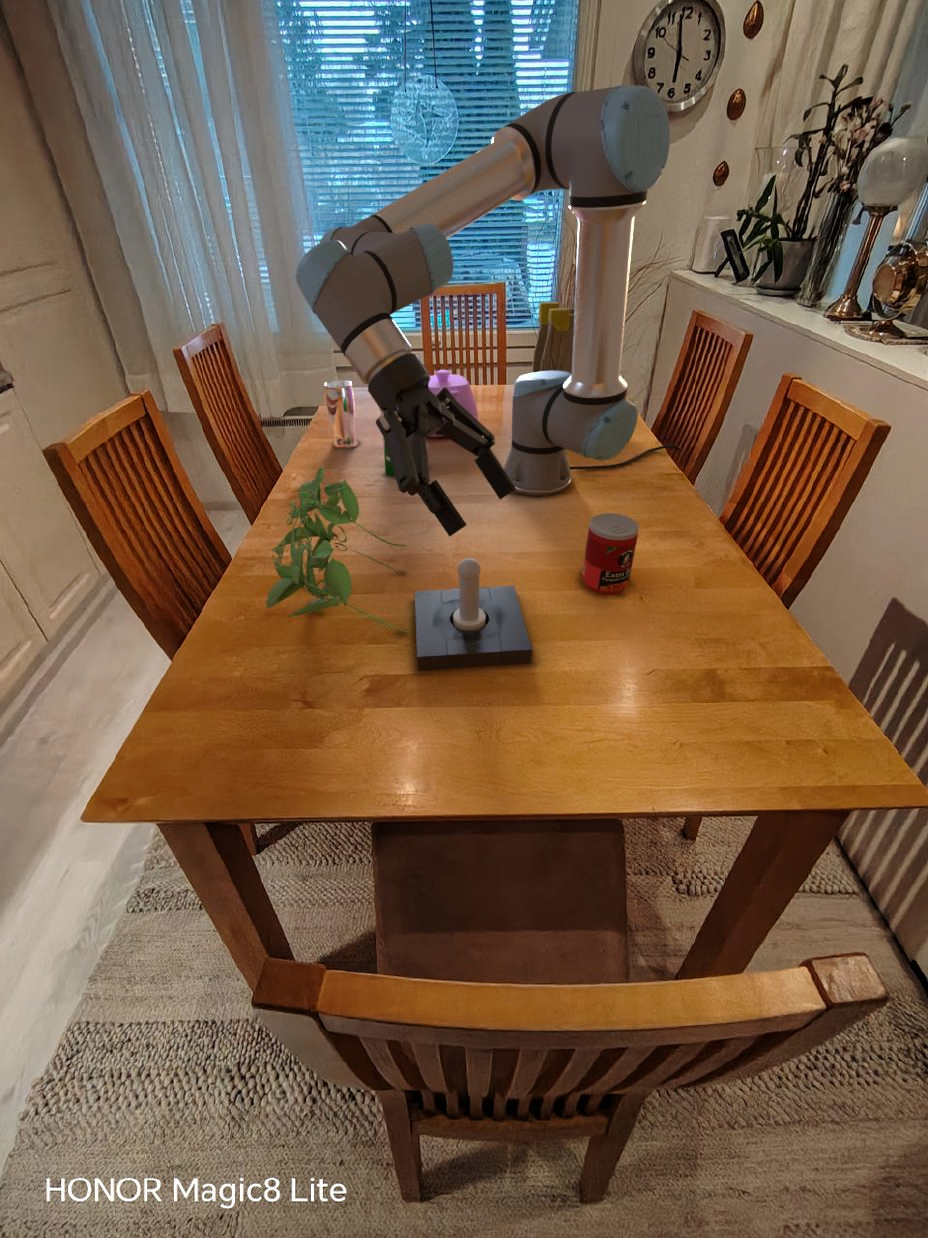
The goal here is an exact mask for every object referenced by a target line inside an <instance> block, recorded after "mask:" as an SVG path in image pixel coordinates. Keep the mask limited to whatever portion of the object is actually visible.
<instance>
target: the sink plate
mask: <svg viewBox="0 0 928 1238" xmlns="http://www.w3.org/2000/svg"><path fill="white" fill-rule="evenodd" d="M413 595H414V612H415V613H414V615H415V616H414V617H415V641H416V661H417V662H416V663H417V670H418V671H431V670H432V671H433V670H446V669H447V670H448V669H461V668H463V669H464V668H476V667H490V666H493V667H494V666H502V665H506V666H507V665H519V664H531V663H532V659H533V647H532V644H531V640H530V637H529V633H528V629H527V626H526V623H525V618H524V614H523V612H522V608H521V604H520V601H519V598H518V593H517V590H516V588H515V585H500V586H483V587H479V608H480V609H482V610H483V611H484V613H485V616H486V619H485V627H483V628H481V629H478V630H474V631H465V630H460V629H458V628H456V627H454V626H453V614H454V612H455V611H456V610H457V609H459V608H460V589H459V588H451V589H450V588H449V589H448V588H447V589H446V588H445V589H432V590H428V589H427V590H415V591H414V594H413Z"/></svg>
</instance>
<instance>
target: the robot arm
mask: <svg viewBox="0 0 928 1238" xmlns="http://www.w3.org/2000/svg"><path fill="white" fill-rule="evenodd" d="M670 145H671V127H670V121H669V116H668V111H667V108H666V106H665V105H664V104H663V101H662V98H661V97H660V95H659V94H658V92H656V91H655V90H654V89H652V88H650V87H649V86H646V85H627V84H623V83H622V84H620V85H617V86H612V87H611V86H609V87H604V88H603V87H602V88H597V89H590V90H582V91H581V90H580V91H571V92H565V93H562V94H559V95H556V96H554V97H551V98H550V99H549V98H548V99H547V100H546V101H544V102H542V103H540V104H539V105H536V106H535V107H534V108H532V109H530V110H529V111H527V112H525V113H524V114H522V115H520V116H519V117H517V118H516V119H514V120H512V121H511V122H509V123H508V124H506V125H504V126H503V127H501V128H499V129H498V130H497V131H496V132H495V133H494V135H493V136H492V139H491V143H490V144H488V145H486V146H485V147H483V148H481V149H480V150H478V151H476V152H475V153H473V154H471V155H470V156H468V157H466V158H464V159H462V160H461V161H460V162H458V163H456V164H455V165H453V166H451V167H450V168H447V169H446V170H445V171H443V172H441V173H439V174H437V175H436V176H435V177H433V178H431V179H430V180H427V181H426V182H424V183H423V184H420V185H419V186H417V187H416V188H414V189H412V190H411V191H409V192H407V193H406V194H404V195H402V196H401V197H399V198H398V199H396V200H395V201H393V202H391V203H389V204H388V205H386V206H383V208H381V209H379V210H377V211H376V212H374V213H373V214H371V215H369V216H367V217H365V218H363V219H362V220H360V221H358V222H356V223H355V224H353V225H352V226H350V227H348V226H338V227H333V228H331V229H329V230H327V231H326V232H325V233H324V234H323V235H322V237H321V239H320V240H319V243H317V244H316V245H314V246H313V247H311V248H310V249H309V250H308V251H307V252H306V253H305V254H304V255H303V256H302V258H301V259H300V261H299V263H298V265H297V267H296V274H295V282H296V285H297V286H298V288H299V290H300V292H301V294H302V296H303V297H304V299H305V301H306V303H307V304H308V305H309V307H310V309H311V311H312V313H313V314H314V315H315V316H316V317H317V319H318V320H319V321H320V322H321V324H322V326H324V328H325V330H326V331H327V332H328V334H329V335H330V337H331V338H332V339H333V341H334V343H335V344H336V345H337V347H338V349H340V351H341V353H342V354H343V356H344V357H345V358H346V360H347V361H348V362H349V364H350V366H351V367H352V368H353V370H354V372H355V373H356V375H357V376H358V378H359V379H360V381H361V383H362V384H364V385H367V392H368V394H369V395H370V397H372V399H373V401H374V402H375V404H376V405H377V406H378V408H379V410H380V409H381V411H382V412H384V413H383V414H382V415H381V414H380V415H379V416H378V418H376V420H375V425H376V426H377V428H378V430H379V432H380V433H381V435H382V438H383V437H384V440H385V443H386V447H387V450H388V454H389V457H390V461H391V464H392V467H393V471H394V474H395V476H394V477H395V481H396V485H397V487H398V490H399V492H401V493H402V494H406V493H407V494H408V495H409V496H410V497H413V496H415V495H418V496H419V498H420V499H421V501H422V502H423V504H424V505H425V507H426V508H427V509H428V511H429V512H430V513H431V514H432V515H434V516H435V517H436V519H437V521H438V522H439V524H440V525H441V526H442V528H443V529H444V531H445V533H446V534H447V535H448V537H452V536H453V535H455V534H456V533H457V532H459V531H461V529H463V528H465V527H466V526H467V525H468V524H467V522H466V521H465V520H464V518H463V516H462V515H461V514H460V512H459V511H458V510H457V507H456V506H455V504H454V503H453V502H452V500H451V499H450V497H449V496H448V494H447V493H446V492H445V490H444V488H443V487H442V486H441V484H440V483H439V481H438V480H437V479H435V480H433V481H431V475H430V463H429V454H428V444H427V437H429V436H431V435H433V434H436V435H443V436H442V437H445V438H447V439H448V440H450V441H451V442H452V443H454V444H456V445H458V446H459V447H460V448H462V449H464V450H465V451H467V452H469V453H470V454H472V455H473V456H475V457H476V458H475V459H474V460H473V462H474V463H475V464H476V466H477V467H478V469H479V471H480V472H481V473H482V475H483V476H484V478H485V479H486V481H487V482H488V484H489V486H490V487H491V489H492V490H493V491H494V493H495V495H496V496H497V497H498V499H499V501H502V499H504V498H505V497H507V496H508V495H510V494H511V493H515V494H519V495H522V496H530V497H547V496H548V497H549V496H553V495H558V494H560V493H563V492H565V491H567V489H569V488H570V486H571V483H572V470H574V471H575V470H598V469H600V470H601V469H612V468H619V467H622V466H626V465H628V464H630V463H632V462H634V461H637V460H639V459H641V458H642V457H644V456H645V455H647V454H649V453H652V452H656V451H659V450H663V449H669V448H672V449H675V450H676V451H679V452H680V451H682V449H681V448H680V447H679V446H678V445H676V444H664V445H659V446H656V447H653V448H649V449H647V450H645V451H643V452H641V453H640V454H638V455H635V456H634V457H632V458H630V459H628V460H625V461H623V462H618V463H613V464H603V465H577V466H576V465H573V466H570V464H569V458H568V455H567V450H568V451H570V452H571V453H575V454H578V455H580V456H582V457H583V458H585V459H592V460H593V461H596V462H597V461H598V462H606V461H610V460H612V459H614V458H615V457H616V456H618V455H619V454H620V453H621V452H622V451H623V450H624V449H625V447H626V446H627V445H628V443H629V442H630V440H631V439H632V436H633V435H634V432H635V430H636V427H637V424H638V417H639V414H638V409H637V408H638V407H636V405H635V403H633V402H632V401H631V400H630V399H627V394H628V393H627V392H628V382H627V380H626V379H625V378H624V377H623V376H622V375H621V366H622V365H621V364H622V355H623V344H624V334H625V324H626V315H625V314H627V303H628V291H629V281H630V271H631V270H630V268H631V260H632V249H633V238H634V227H635V218H636V216H637V214H638V213H639V212H640V210H641V209H642V208H643V207H644V206H645V205H646V203H647V198H648V190H650V189H651V188H653V187H654V186H655V185H656V184H657V183H658V181H659V180H660V179H661V177H662V175H663V169H665V167H666V165H667V163H668V159H669V154H670V148H671V147H670ZM549 190H568V192H569V195H568V208H569V210H570V211H571V213H573V215H574V216H575V217H576V219H577V241H576V244H577V245H576V268H575V288H574V289H575V290H574V291H575V292H574V294H575V295H574V308H575V311H574V335H573V358H572V374H571V373H570V372H566V371H540V372H533V373H532V372H529V373H525V374H522V375H520V376H519V377H518V378H516V380H515V382H514V385H513V395H512V408H511V409H512V410H511V411H512V413H511V444H510V445H511V446H510V450H509V452H508V455H507V458H506V461H505V463H504V466H503V467H502V465H501V463H500V461H499V460H498V458H497V456H496V455H495V453H494V452H493V450H492V447H494V446H495V445H496V441H495V436H494V434H493V433H492V432H491V431H490V430H489V429H488V428H487V427H486V426H484V425H483V424H482V423H481V422H480V421H479V419H478V420H477V419H476V418H475V417H473V416H472V415H471V414H470V413H469V412H468V411H467V410H466V409H465V408H464V407H463V406H462V405H460V404H459V403H458V402H457V401H456V400H455V398H454V397H453V396H452V394H451V393H450V392H449V390H448V389H447V388H445V387H444V388H443V389H442V390H440V391H439V392H438V393H437V394H436V395H434V394H433V393H432V392H431V391H430V389H429V387H428V384H429V381H430V376H431V375H430V373H429V371H428V370H427V369H426V366H424V364H423V363H422V361H421V359H420V358H419V357H418V355H417V354H416V353H413V352H412V347H413V346H412V345H411V344H410V342H409V341H408V339H407V338H406V336H405V335H404V333H403V332H402V330H401V328H399V326H398V324H397V323H396V321H395V319H394V318H393V317H392V316H391V315H393V314H395V313H396V312H399V311H400V310H403V309H405V308H407V307H408V306H411V305H412V304H414V303H416V302H419V301H420V300H422V299H424V298H427V297H428V296H432V295H434V293H435V292H437V291H439V290H440V289H442V288H443V287H445V286H446V285H448V283H450V282H451V279H452V278H453V275H454V264H455V262H454V258H453V254H452V248H451V245H450V243H449V241H448V239H449V238H451V237H452V236H454V235H455V234H457V233H459V232H460V231H462V230H463V229H465V228H467V227H468V226H470V225H472V224H473V223H475V222H477V221H478V220H479V219H481V218H483V217H484V216H486V215H488V214H489V213H490V212H492V211H494V210H495V209H497V208H498V207H500V206H502V205H504V204H505V203H507V202H508V201H509V200H513V201H523V200H524V199H526V198H528V197H529V196H531V195H533V194H535V193H538V192H542V191H549ZM448 406H449V408H448ZM443 418H444V419H443ZM406 476H407V477H408V478H406Z"/></svg>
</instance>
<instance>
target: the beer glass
mask: <svg viewBox="0 0 928 1238" xmlns="http://www.w3.org/2000/svg"><path fill="white" fill-rule="evenodd" d="M323 386H324V399H325V406H326V410H327V415H328V416H329V417H328V418H329V420H330V424H331V427H332V431H333V446H334V447H335V448H337V449H352V448H354V447H356V446H358V444H359V442H358V437H357V434H356V430H355V429H356V428H355V427H356V426H355V421H356V401H355V394H354V390H353V384H352V381H350V380H347V379H346V380H345V379H334V380H329V381H326V382H324V384H323Z"/></svg>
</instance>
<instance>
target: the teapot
mask: <svg viewBox="0 0 928 1238" xmlns="http://www.w3.org/2000/svg"><path fill="white" fill-rule="evenodd" d="M428 387H429V389H430V391H431V392H432V393H433V394H434V395H436V394H437V393H438V392H439V391H440V390H442V389H443V388H444V387H445V388H447V389H448V390H449V392H450V393H451V394H452V396H453V397H454V398H455V400H456V401H457V402H458V403H459V404H460V405H462V406H463V407H464V408H465V409H466V410H467V411H468V412H469V413H470V414H471V415H472V416H473V417H475V418H476V419H477V420H478V421H479V412H478V406H477V402H476V398H475V396H474V392H473V390H472V387H471V385H470V383H469V381H468V380H467V379H466V378H465V377H464V376H463V375H462V374H451V370H447V369H440V370H436V371H435V374H434V375H430V381H429V384H428ZM448 408H449V406H448ZM443 419H444V418H443ZM428 437H430V438H439V437H444V436H443V435H436V434H433V435H431V436H428Z"/></svg>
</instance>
